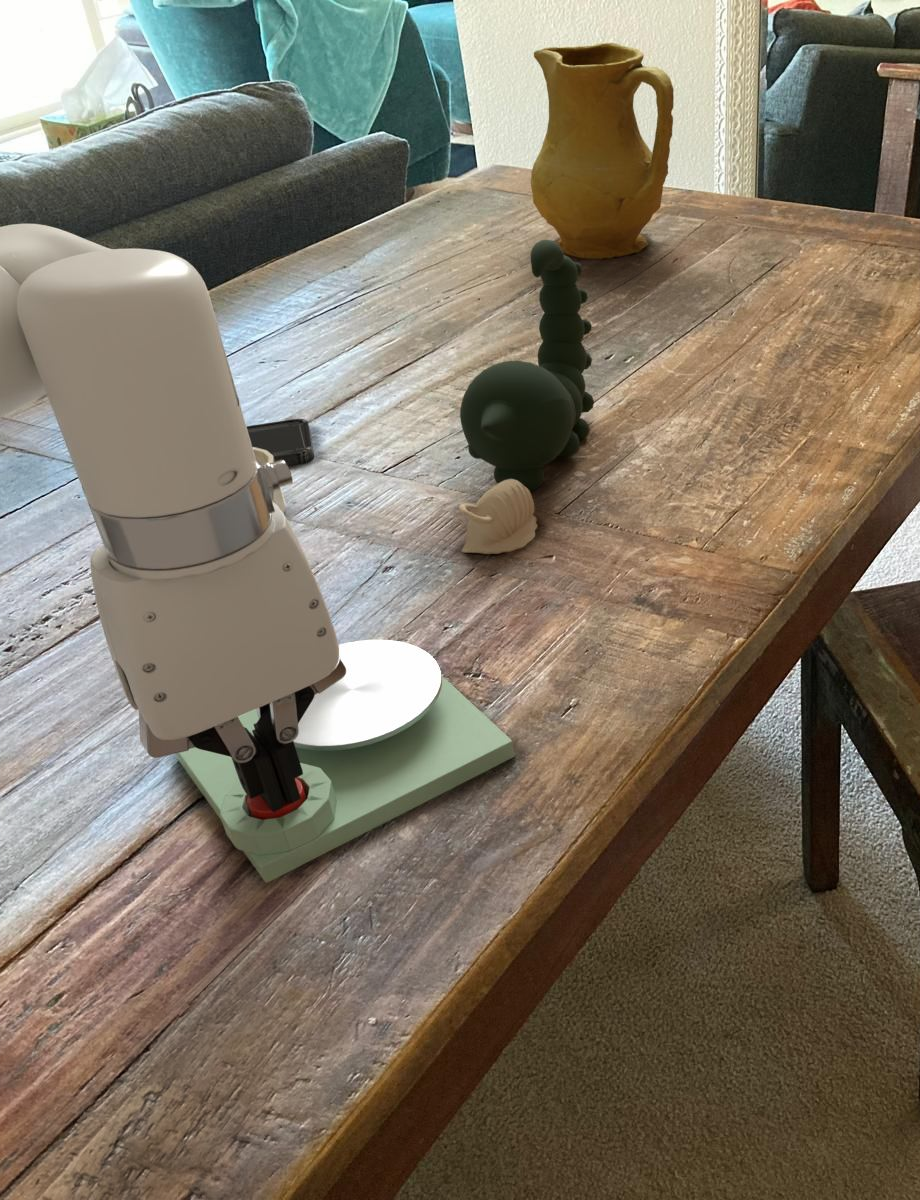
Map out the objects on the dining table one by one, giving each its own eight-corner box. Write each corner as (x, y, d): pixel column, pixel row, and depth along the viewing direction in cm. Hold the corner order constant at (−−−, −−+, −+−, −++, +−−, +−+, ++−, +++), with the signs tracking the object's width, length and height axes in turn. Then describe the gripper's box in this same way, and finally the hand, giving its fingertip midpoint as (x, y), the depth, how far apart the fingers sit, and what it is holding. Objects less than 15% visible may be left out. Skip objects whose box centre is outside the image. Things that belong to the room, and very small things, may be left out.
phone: (312, 451, 109) (130, 479, 104) (315, 462, 110) (134, 491, 105) (307, 416, 115) (135, 442, 110) (309, 427, 116) (139, 453, 111)
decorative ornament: (553, 527, 100) (545, 470, 97) (484, 574, 94) (474, 514, 91) (515, 515, 102) (507, 459, 99) (446, 560, 96) (435, 501, 93)
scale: (258, 889, 67) (244, 850, 65) (171, 764, 75) (157, 727, 74) (515, 757, 76) (509, 721, 74) (411, 660, 85) (404, 625, 83)
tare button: (265, 839, 68) (259, 819, 67) (245, 811, 69) (238, 791, 69) (317, 814, 69) (311, 794, 68) (295, 787, 71) (289, 768, 70)
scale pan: (306, 776, 70) (304, 771, 70) (234, 690, 77) (233, 685, 77) (473, 698, 76) (472, 693, 76) (394, 624, 83) (392, 620, 83)
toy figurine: (531, 417, 122) (441, 519, 100) (512, 226, 113) (408, 292, 91) (622, 422, 121) (551, 525, 99) (610, 229, 112) (529, 297, 90)
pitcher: (616, 215, 174) (601, 28, 159) (696, 252, 163) (689, 55, 148) (513, 243, 164) (487, 47, 149) (591, 284, 154) (572, 78, 138)
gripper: (302, 442, 65) (370, 707, 75) (-6, 537, 56) (117, 821, 67) (364, 491, 60) (428, 767, 70) (38, 603, 52) (164, 897, 62)
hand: (276, 793), depth 68 cm, fingers closed
